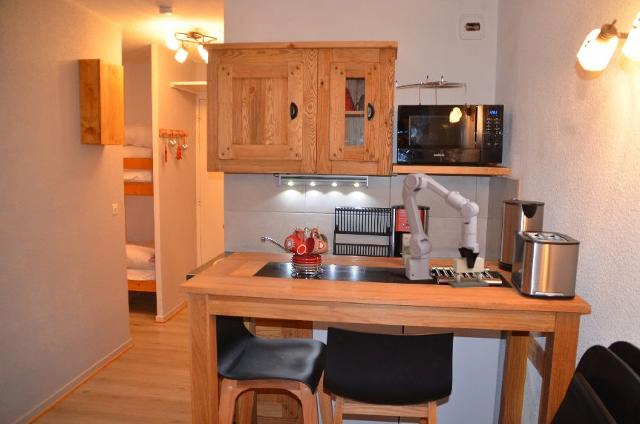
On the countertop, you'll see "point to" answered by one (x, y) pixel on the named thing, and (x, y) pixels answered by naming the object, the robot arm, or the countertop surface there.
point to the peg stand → (468, 281)
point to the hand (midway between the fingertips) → (468, 267)
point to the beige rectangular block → (461, 265)
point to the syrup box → (405, 248)
